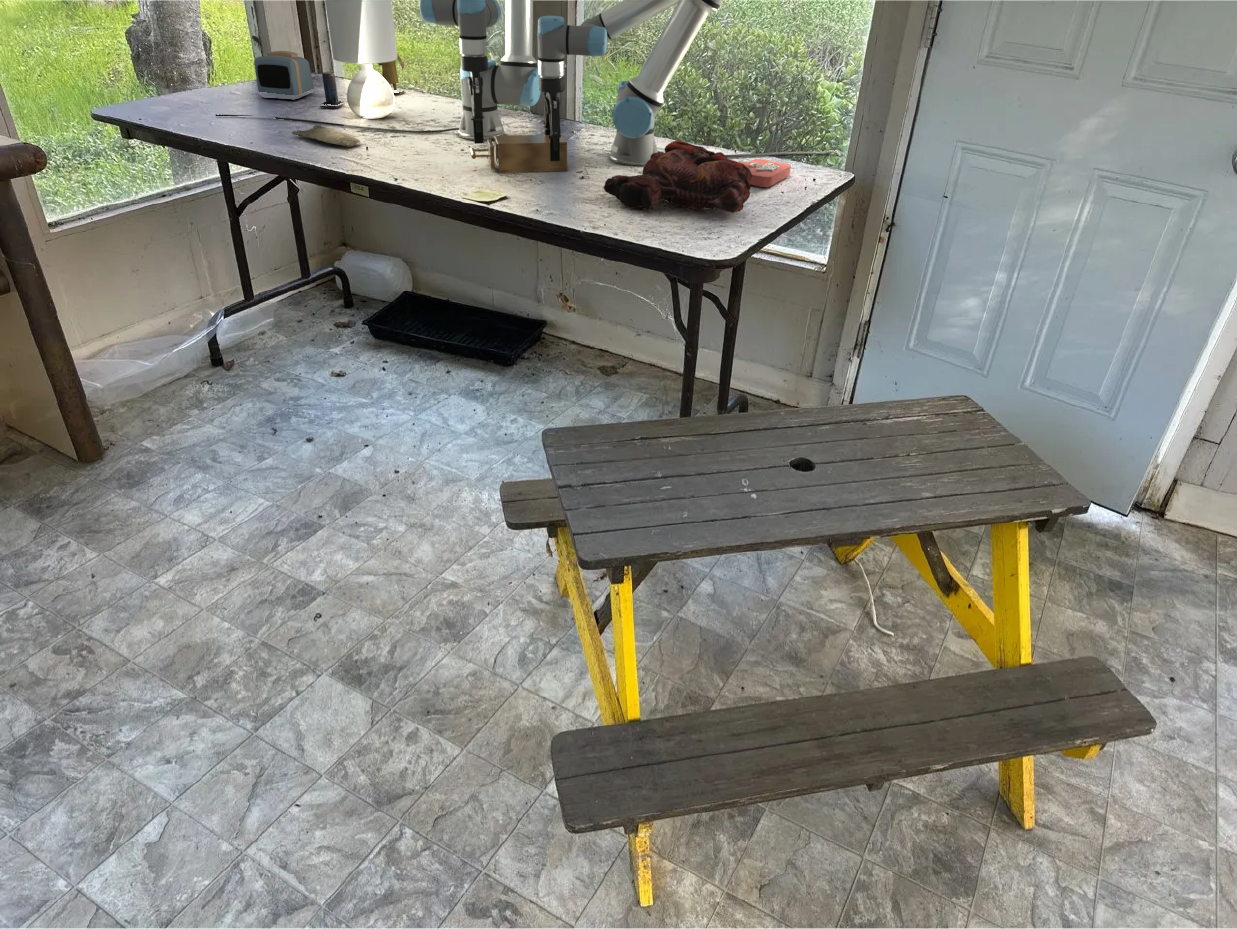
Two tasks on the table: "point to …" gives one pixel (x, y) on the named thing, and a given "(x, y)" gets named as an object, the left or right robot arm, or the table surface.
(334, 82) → the beverage can
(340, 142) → the stone tool
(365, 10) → the lamp
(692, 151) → the sculpture
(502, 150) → the cabinet
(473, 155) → the drawer
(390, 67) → the figurine
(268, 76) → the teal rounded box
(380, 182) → the table surface
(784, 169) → the plaque
